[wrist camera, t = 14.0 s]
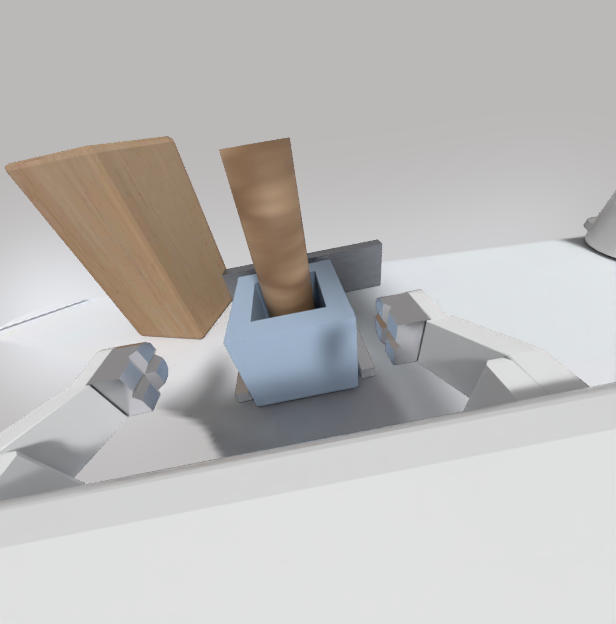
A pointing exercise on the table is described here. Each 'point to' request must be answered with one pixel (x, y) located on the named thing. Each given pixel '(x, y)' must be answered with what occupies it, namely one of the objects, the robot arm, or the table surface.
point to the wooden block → (134, 230)
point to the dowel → (271, 222)
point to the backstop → (352, 275)
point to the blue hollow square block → (294, 341)
